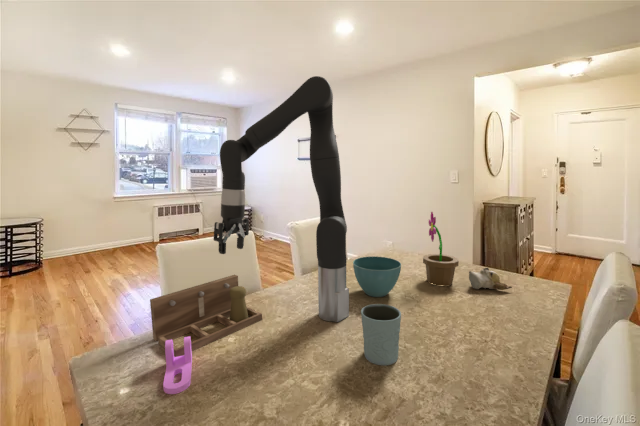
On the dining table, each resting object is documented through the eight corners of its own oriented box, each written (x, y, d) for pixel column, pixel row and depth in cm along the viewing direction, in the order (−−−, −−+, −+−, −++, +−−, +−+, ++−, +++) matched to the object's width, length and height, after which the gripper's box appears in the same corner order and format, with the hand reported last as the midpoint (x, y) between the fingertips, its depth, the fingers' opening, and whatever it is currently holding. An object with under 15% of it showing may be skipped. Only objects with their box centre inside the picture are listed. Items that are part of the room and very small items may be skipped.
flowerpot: (418, 275, 145) (421, 209, 141) (451, 276, 143) (455, 209, 139) (426, 287, 131) (428, 214, 127) (462, 288, 129) (466, 214, 125)
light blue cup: (392, 372, 77) (393, 324, 75) (353, 359, 82) (354, 314, 80) (405, 351, 85) (406, 308, 84) (369, 341, 90) (370, 300, 89)
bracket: (168, 363, 81) (166, 337, 80) (192, 358, 83) (190, 333, 82) (162, 397, 69) (159, 367, 68) (190, 391, 71) (187, 361, 70)
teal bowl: (406, 290, 128) (407, 260, 126) (390, 306, 113) (391, 272, 111) (364, 282, 138) (365, 254, 136) (344, 296, 123) (344, 265, 121)
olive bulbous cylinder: (243, 325, 100) (242, 291, 99) (226, 323, 102) (224, 290, 100) (251, 316, 106) (250, 284, 105) (234, 315, 108) (233, 283, 106)
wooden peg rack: (262, 319, 104) (260, 284, 102) (176, 358, 83) (173, 314, 82) (236, 307, 114) (234, 274, 112) (153, 339, 93) (149, 299, 91)
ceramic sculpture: (464, 263, 134) (499, 264, 134) (461, 283, 135) (497, 284, 135) (476, 271, 123) (515, 273, 123) (473, 293, 124) (512, 294, 124)
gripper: (226, 205, 97) (225, 257, 99) (255, 202, 110) (253, 248, 112) (208, 203, 100) (207, 253, 103) (238, 200, 113) (237, 245, 115)
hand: (231, 251), depth 107 cm, fingers open, 8 cm apart
